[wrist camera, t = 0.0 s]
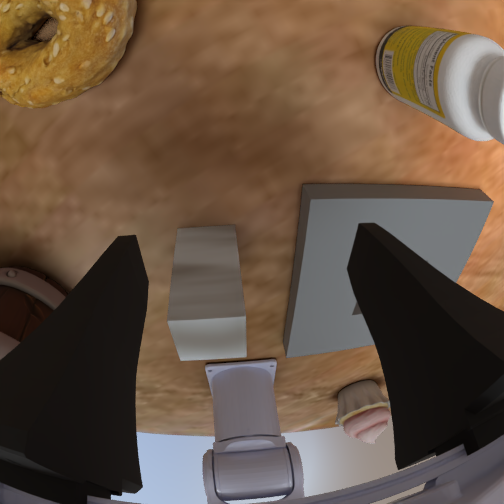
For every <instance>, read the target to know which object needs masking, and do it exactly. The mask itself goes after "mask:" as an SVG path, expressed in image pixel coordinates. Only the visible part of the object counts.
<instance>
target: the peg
mask: <svg viewBox="0 0 504 504" xmlns="http://www.w3.org/2000/svg"><path fill="white" fill-rule="evenodd" d="M167 322H168V325H169V328H170V331H171V334H172V337H173V340H174V343H175V346H176V349H177V352H178V355H179V358H180V360H181V361H186V360H209V359H225V358H239V357H247V352H246V313H245V305H244V296H243V288H242V280H241V271H240V263H239V254H238V246H237V237H236V228H235V225H222V226H207V227H192V228H179V229H178V230H177V237H176V244H175V252H174V260H173V269H172V277H171V286H170V296H169V306H168V317H167Z"/></svg>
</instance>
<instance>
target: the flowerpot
mask: <svg viewBox="0 0 504 504" xmlns="http://www.w3.org/2000/svg"><path fill="white" fill-rule="evenodd" d="M66 297H67V293H66V291H65V290H64V289H63V288H62V287H61V286H60V285H59V284H57V283H56V282H55V281H53V280H51V279H46V280H45V275H44V274H42V273H40V272H37V271H35V270H32V269H29V268H26V267H8V268H0V360H1V359H2V358H3V357H4V356H6V355H7V354H8V353H9V352H10V351H12V350H13V349H14V348H15V347H16V346H17V345H18V344H20V343H21V342H22V341H23V340H24V339H25V338H26V337H27V336H28V335H29V334H31V333H32V332H33V331H34V330H35V329H36V328H37V327H38V326H39V325H40V324H41V323H42V322H43V321H44V320H45V319H46V318H47V317H48V316H49V315H50V314H51V313H52V312H53V311H54V310H55V309H56V308H57V307H58V306H59V305H60V303H61V302H62V301H63V300H64V299H65V298H66Z"/></svg>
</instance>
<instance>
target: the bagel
mask: <svg viewBox="0 0 504 504" xmlns="http://www.w3.org/2000/svg"><path fill="white" fill-rule="evenodd" d="M136 10H137V1H136V0H0V97H3V98H4V99H6V100H7V101H9V102H10V103H11V104H14V105H15V104H16V105H18V106H21V107H28V108H45V107H48V106H51V105H52V104H54V105H56V104H59V103H60V102H61V101H65V100H67V99H72V98H76V97H77V96H79V95H80V94H81V93H83V92H85V91H86V90H88V89H89V88H91V87H93V86H96V85H99V84H101V83H102V82H103V81H104V80H105V78H106V77H107V76H108V75H109V74H110V73H111V72H112V71H113V70H114V69H115V67H116V66H117V63H118V62H119V60H120V59H121V58H122V56H123V55H124V52H125V49H126V44H127V42H128V40H129V38H130V37H131V36H132V34H133V24H134V18H135V14H136ZM51 17H52V18H54V19H55V20H57V21H58V26H57V33H56V34H55V35H54V37H53V38H52V39H51V40H45V41H42V42H38V41H36V40H31V38H32V36H34V34H35V33H36V32H37V30H38V29H39V28H40V27H41V26H42V24H43V23H44V22H45V20H47V19H48V18H51Z"/></svg>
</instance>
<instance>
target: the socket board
mask: <svg viewBox="0 0 504 504" xmlns="http://www.w3.org/2000/svg"><path fill="white" fill-rule="evenodd" d="M493 202H494V201H493V200H491V199H490V198H489V197H488V196H487V195H486V194H485V193H484V192H483V191H482V190H480V189H468V188H454V187H438V186H418V185H390V184H303V187H302V197H301V207H300V216H299V225H298V234H297V242H296V251H295V259H294V267H293V274H292V282H291V290H290V297H289V304H288V311H287V318H286V325H285V332H284V339H283V344H284V349H285V354H286V358H290V357H298V356H306V355H313V354H321V353H327V352H334V351H340V350H346V349H352V348H358V347H363V346H369V345H374V344H375V343H374V341H373V339H372V336H371V334H370V331H369V329H368V326H367V324H366V322H365V319H364V317H363V315H362V312H361V310H360V308H359V305H358V303H357V300H356V298H355V296H354V293H353V290H352V286H351V283H350V279H349V276H348V272H347V265H348V262H349V258H350V254H351V251H352V247H353V243H354V239H355V235H356V232H357V228H358V224H359V223H376V224H378V225H379V226H381V227H382V228H384V229H385V230H386V231H388V232H389V233H391V234H392V235H393V236H395V237H396V238H397V239H398V240H400V241H401V242H402V243H404V244H405V245H406V246H407V247H409V248H410V249H411V250H413V251H414V252H415V253H416V254H418V255H419V256H420V257H422V258H423V259H424V260H425V261H427V262H428V263H429V264H431V265H432V266H433V267H435V268H436V269H437V270H439V271H440V272H441V273H443V274H444V275H445V276H447V277H448V278H450V279H451V280H453V281H454V282H455V283H456V282H457V280H458V278H459V276H460V274H461V272H462V270H463V268H464V266H465V264H466V263H467V261H468V259H469V257H470V255H471V252H472V250H473V248H474V246H475V244H476V242H477V240H478V238H479V235H480V233H481V231H482V229H483V226H484V224H485V222H486V219H487V217H488V215H489V212H490V210H491V207H492V205H493Z"/></svg>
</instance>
